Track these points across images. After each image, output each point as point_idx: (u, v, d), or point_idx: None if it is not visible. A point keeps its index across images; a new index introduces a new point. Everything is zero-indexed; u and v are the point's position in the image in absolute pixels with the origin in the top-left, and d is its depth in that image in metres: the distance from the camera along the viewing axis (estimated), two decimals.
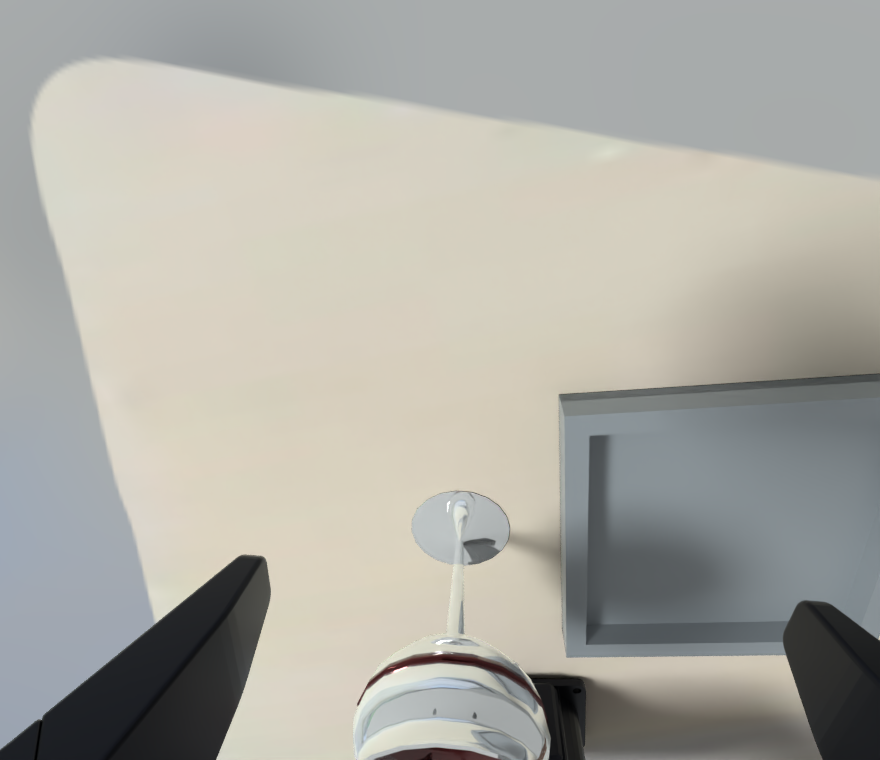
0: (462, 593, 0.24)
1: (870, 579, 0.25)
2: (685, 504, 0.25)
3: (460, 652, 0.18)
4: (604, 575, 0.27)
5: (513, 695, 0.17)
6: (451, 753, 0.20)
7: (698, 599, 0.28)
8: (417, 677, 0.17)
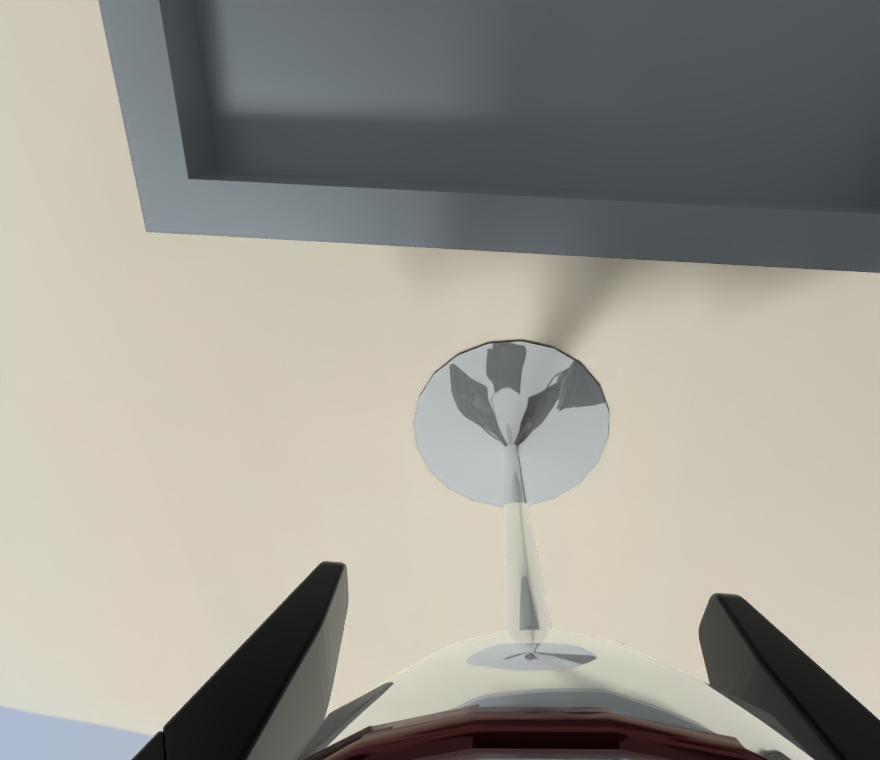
0: (511, 537, 0.10)
1: None
2: None
3: None
4: (704, 135, 0.10)
5: None
6: None
7: None
8: None
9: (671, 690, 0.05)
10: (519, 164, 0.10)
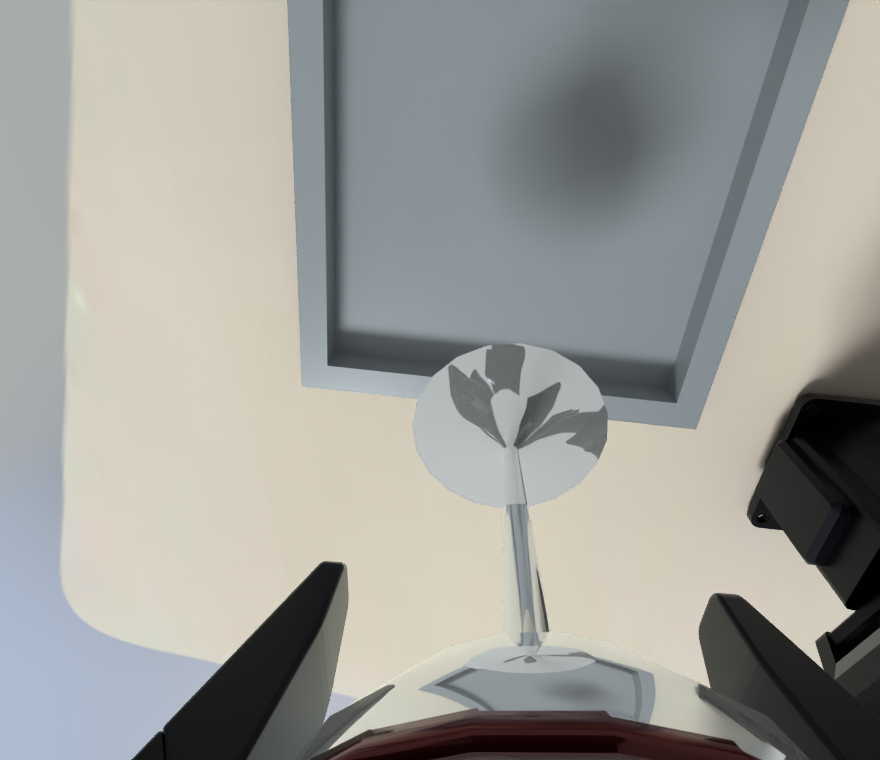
0: (510, 539, 0.10)
1: None
2: (471, 248, 0.19)
3: None
4: (578, 353, 0.20)
5: None
6: None
7: (662, 231, 0.18)
8: None
9: (669, 693, 0.05)
10: None
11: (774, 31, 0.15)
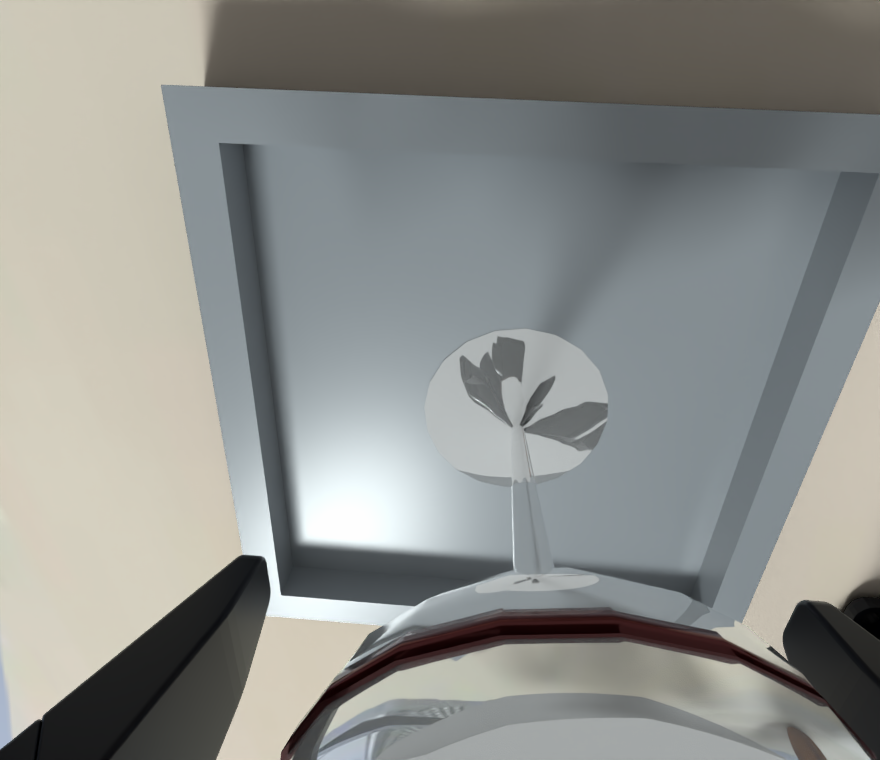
0: (519, 505, 0.11)
1: None
2: (444, 463, 0.16)
3: None
4: (580, 564, 0.17)
5: (332, 751, 0.05)
6: None
7: (677, 443, 0.15)
8: None
9: (663, 600, 0.05)
10: (474, 571, 0.17)
11: (814, 229, 0.12)
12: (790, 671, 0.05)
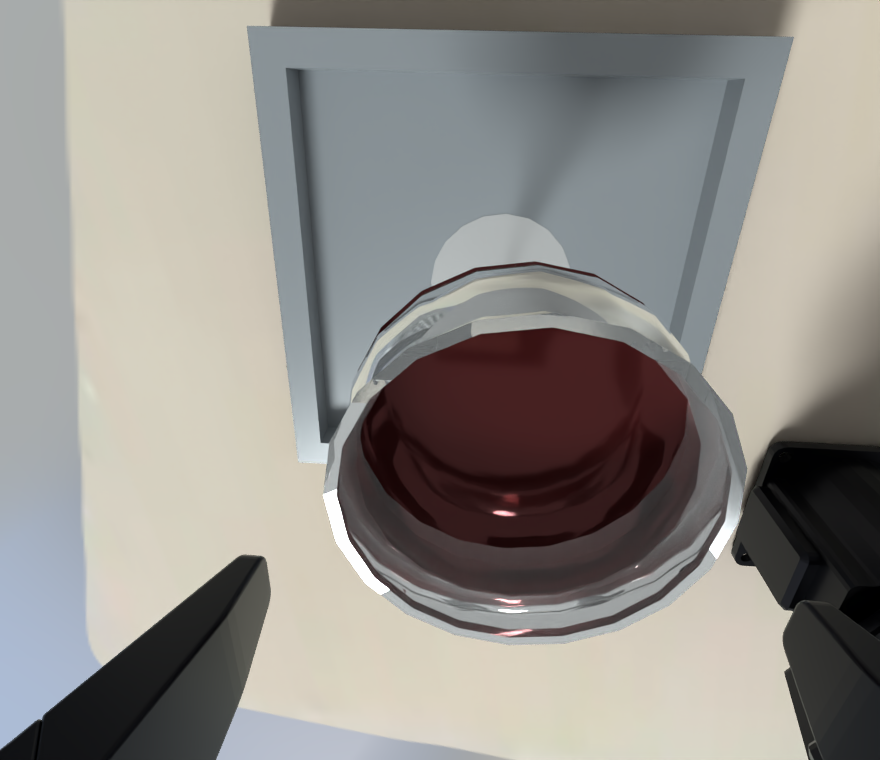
0: None
1: (602, 75, 0.15)
2: None
3: None
4: None
5: (391, 325, 0.09)
6: (612, 439, 0.11)
7: None
8: None
9: None
10: None
11: (711, 128, 0.17)
12: (628, 296, 0.10)
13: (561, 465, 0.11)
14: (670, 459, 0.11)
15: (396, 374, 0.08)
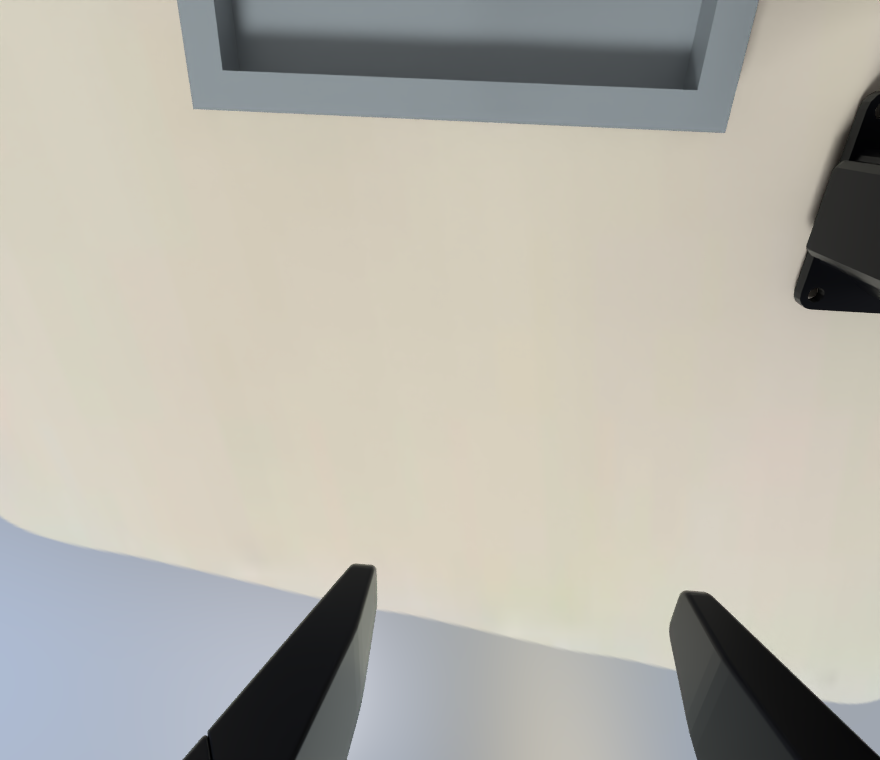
0: None
1: None
2: None
3: None
4: (560, 42, 0.15)
5: None
6: None
7: None
8: None
9: None
10: (441, 64, 0.16)
11: None
12: None
13: None
14: None
15: None
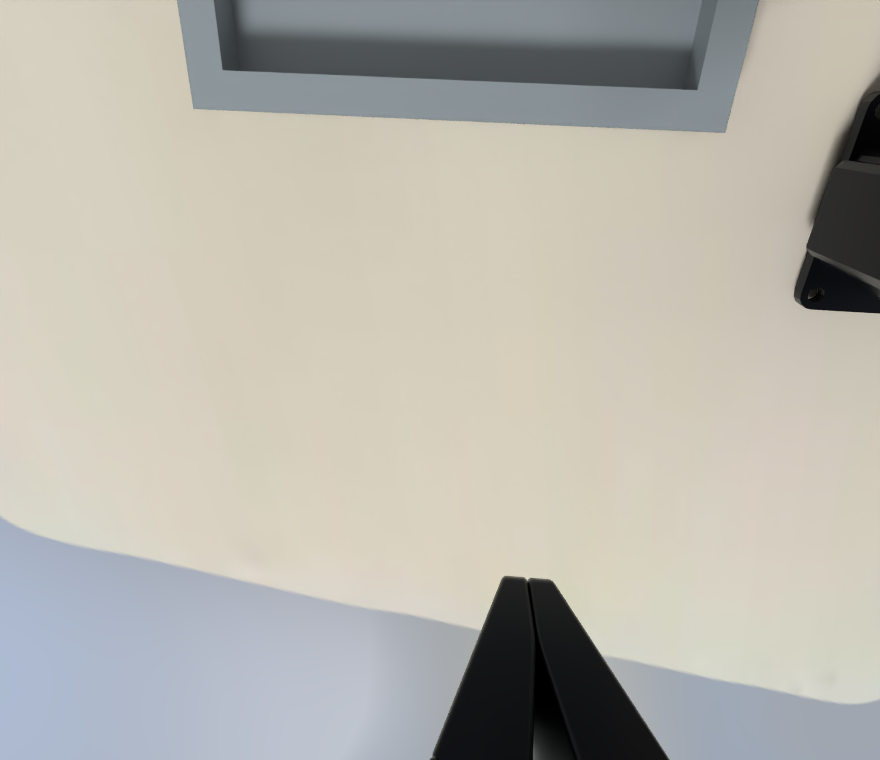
0: None
1: None
2: None
3: None
4: (560, 42, 0.15)
5: None
6: None
7: None
8: None
9: None
10: (441, 64, 0.16)
11: None
12: None
13: None
14: None
15: None
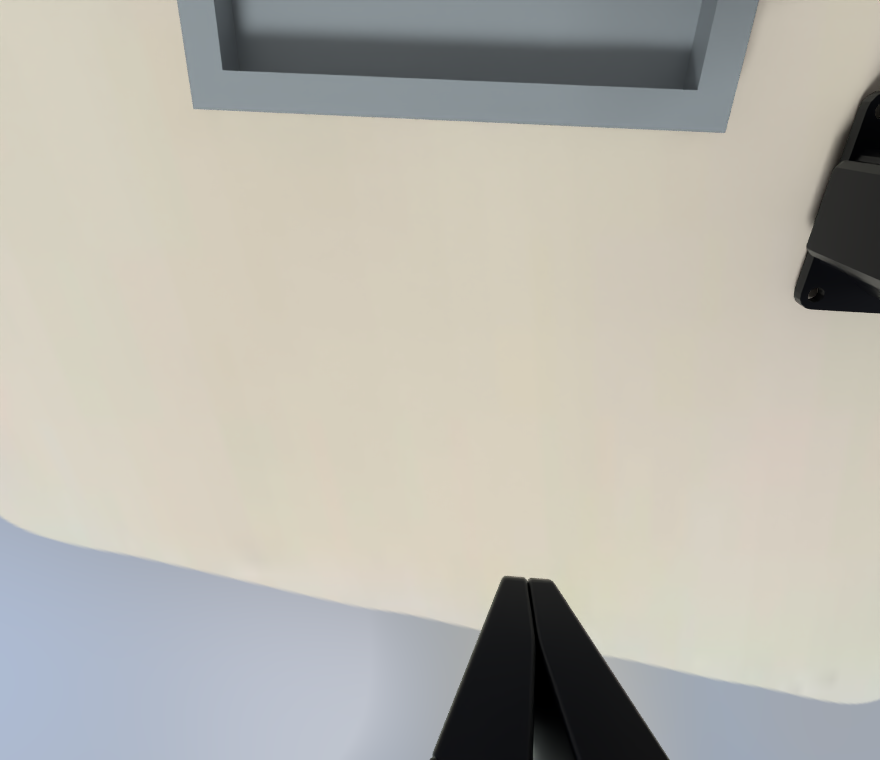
0: None
1: None
2: None
3: None
4: (560, 42, 0.15)
5: None
6: None
7: None
8: None
9: None
10: (441, 64, 0.16)
11: None
12: None
13: None
14: None
15: None
